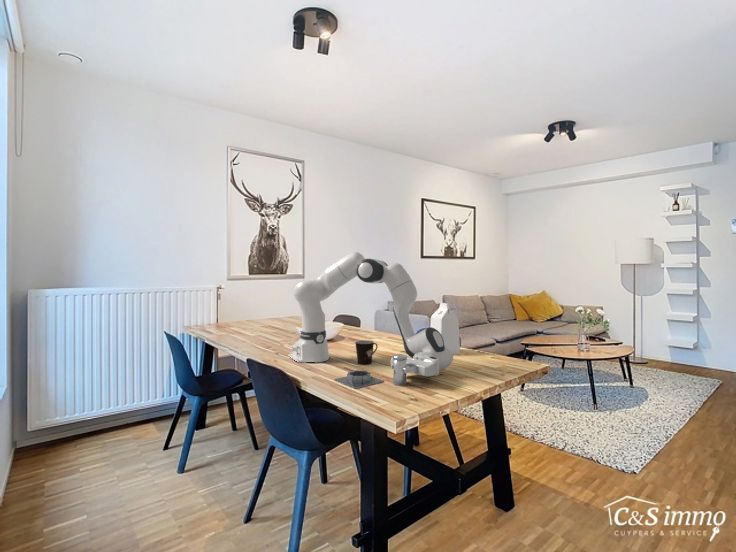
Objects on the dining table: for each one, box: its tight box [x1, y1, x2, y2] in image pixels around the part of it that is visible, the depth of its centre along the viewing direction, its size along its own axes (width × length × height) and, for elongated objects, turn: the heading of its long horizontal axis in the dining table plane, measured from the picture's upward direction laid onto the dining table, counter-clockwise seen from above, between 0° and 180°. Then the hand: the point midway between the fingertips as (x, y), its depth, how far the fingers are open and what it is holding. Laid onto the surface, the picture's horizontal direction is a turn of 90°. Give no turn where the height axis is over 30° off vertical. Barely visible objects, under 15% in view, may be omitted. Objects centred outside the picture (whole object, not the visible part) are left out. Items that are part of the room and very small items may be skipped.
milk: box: [430, 302, 461, 355], centre depth 206 cm, size 12×12×26 cm
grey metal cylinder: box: [392, 353, 408, 387], centre depth 150 cm, size 5×5×11 cm
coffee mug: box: [354, 339, 379, 366], centre depth 183 cm, size 12×9×10 cm
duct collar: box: [333, 369, 385, 390], centre depth 154 cm, size 14×14×3 cm
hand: (398, 368), depth 150 cm, fingers closed on grey metal cylinder, 5 cm apart
